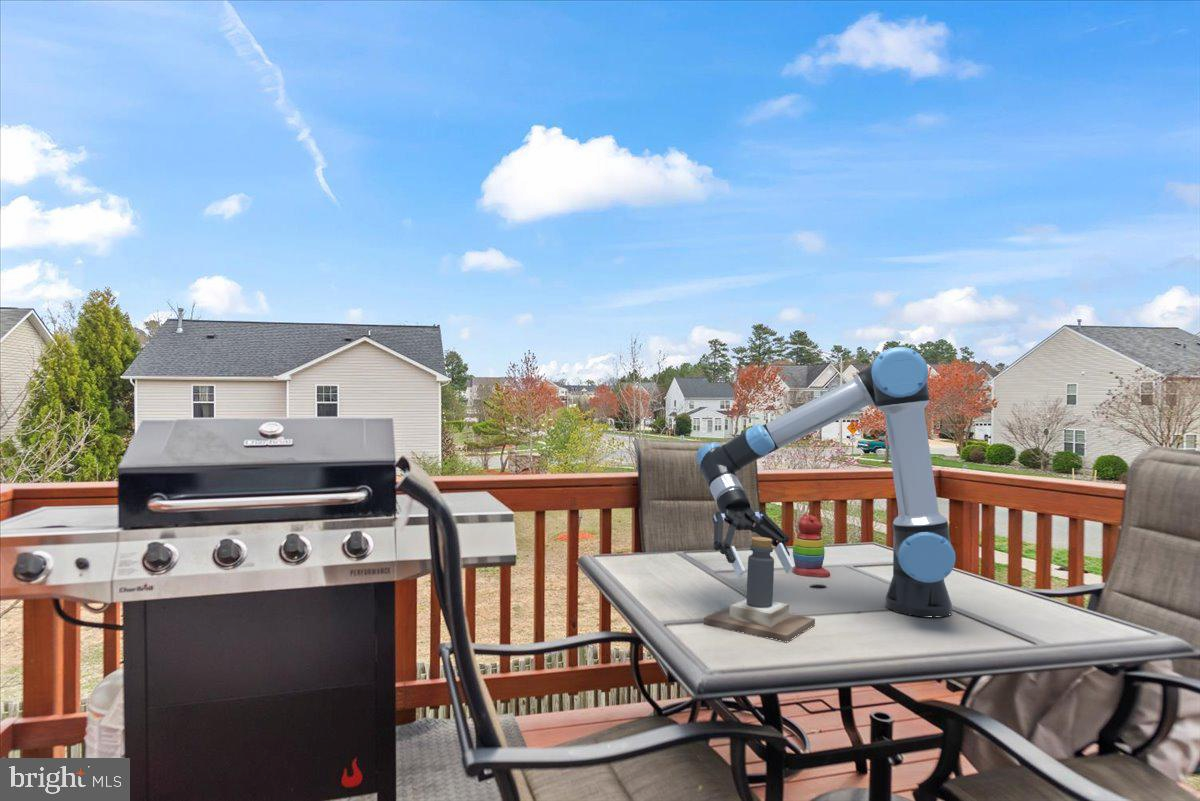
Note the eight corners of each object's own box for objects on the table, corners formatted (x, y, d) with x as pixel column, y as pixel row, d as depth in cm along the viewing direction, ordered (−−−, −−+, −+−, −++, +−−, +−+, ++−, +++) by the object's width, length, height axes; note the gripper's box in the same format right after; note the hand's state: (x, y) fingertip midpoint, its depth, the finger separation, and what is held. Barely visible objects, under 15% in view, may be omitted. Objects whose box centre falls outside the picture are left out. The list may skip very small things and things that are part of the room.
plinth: (814, 625, 160) (815, 605, 160) (786, 642, 148) (787, 620, 148) (735, 609, 172) (735, 590, 173) (703, 624, 160) (703, 603, 160)
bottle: (757, 608, 156) (760, 541, 156) (741, 601, 161) (743, 536, 162) (777, 606, 159) (780, 540, 159) (760, 599, 164) (763, 535, 164)
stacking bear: (832, 577, 208) (832, 517, 208) (798, 577, 208) (798, 517, 208) (820, 569, 219) (820, 512, 219) (788, 569, 219) (788, 512, 219)
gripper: (765, 504, 179) (802, 577, 165) (680, 508, 170) (712, 585, 156) (778, 486, 174) (818, 558, 160) (691, 488, 165) (726, 566, 151)
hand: (766, 572), depth 158 cm, fingers open, 12 cm apart
